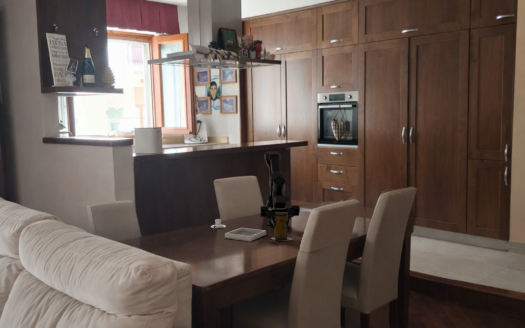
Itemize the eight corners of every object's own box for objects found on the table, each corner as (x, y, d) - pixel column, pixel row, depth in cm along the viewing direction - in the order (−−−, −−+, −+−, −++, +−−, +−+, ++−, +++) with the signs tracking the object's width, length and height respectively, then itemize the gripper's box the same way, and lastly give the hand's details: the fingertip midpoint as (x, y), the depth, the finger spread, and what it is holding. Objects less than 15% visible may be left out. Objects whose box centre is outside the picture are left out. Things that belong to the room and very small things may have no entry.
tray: (241, 231, 256) (241, 227, 256) (266, 234, 249) (266, 230, 249) (224, 238, 244) (224, 233, 244) (250, 241, 236) (250, 236, 236)
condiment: (281, 236, 245) (281, 211, 244) (293, 239, 239) (293, 214, 238) (270, 238, 241) (269, 213, 239) (282, 242, 234) (281, 216, 233)
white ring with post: (223, 229, 265) (222, 221, 264) (208, 229, 266) (208, 221, 266) (227, 225, 273) (227, 218, 273) (213, 225, 275) (213, 218, 275)
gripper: (260, 189, 241) (261, 216, 231) (299, 188, 242) (302, 215, 232) (259, 202, 249) (261, 230, 239) (297, 201, 251) (300, 228, 241)
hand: (281, 225), depth 238 cm, fingers closed on condiment, 6 cm apart
